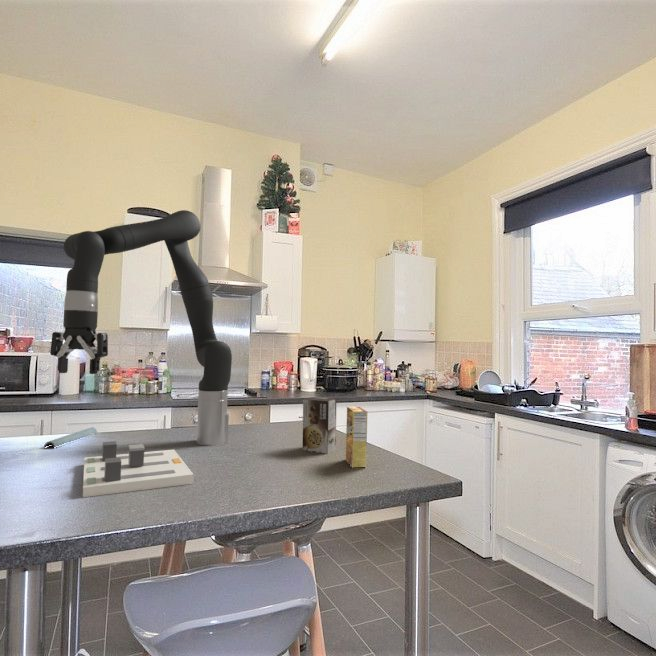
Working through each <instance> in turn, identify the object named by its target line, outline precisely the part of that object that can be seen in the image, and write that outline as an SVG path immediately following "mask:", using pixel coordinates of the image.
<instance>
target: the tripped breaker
mask: <svg viewBox="0 0 656 656" xmlns="http://www.w3.org/2000/svg"><path fill="white" fill-rule="evenodd" d="M145 449H146V447H145V445H144V443H139V444H128V454H129V462H128V463H129V466H130V467H135V466H143V465H144V452H145Z"/></svg>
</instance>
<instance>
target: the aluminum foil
mask: <svg viewBox="0 0 656 656" xmlns="http://www.w3.org/2000/svg"><path fill="white" fill-rule="evenodd" d="M90 433H97V434H98V430H97V428H95V427H89V428H86V429H82V430H80V431H77V432H74V433H70V434H67V435H65V436H61V437H58V438H55V439H52V440H50V441H47V442H46V443H45V442H44V443H45V444H44V446H43V448H44V447H46V446H49V445H53V446H52V448H53V447H56V446H59V445H62V444H64V443H67V442H71V441H74V440H77V439H80V438H83V437H86V436H88V435H91V436H93V435H92V434H90ZM88 437H89V436H88ZM86 438H87V437H86ZM83 439H84V438H83ZM80 440H81V439H80Z"/></svg>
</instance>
